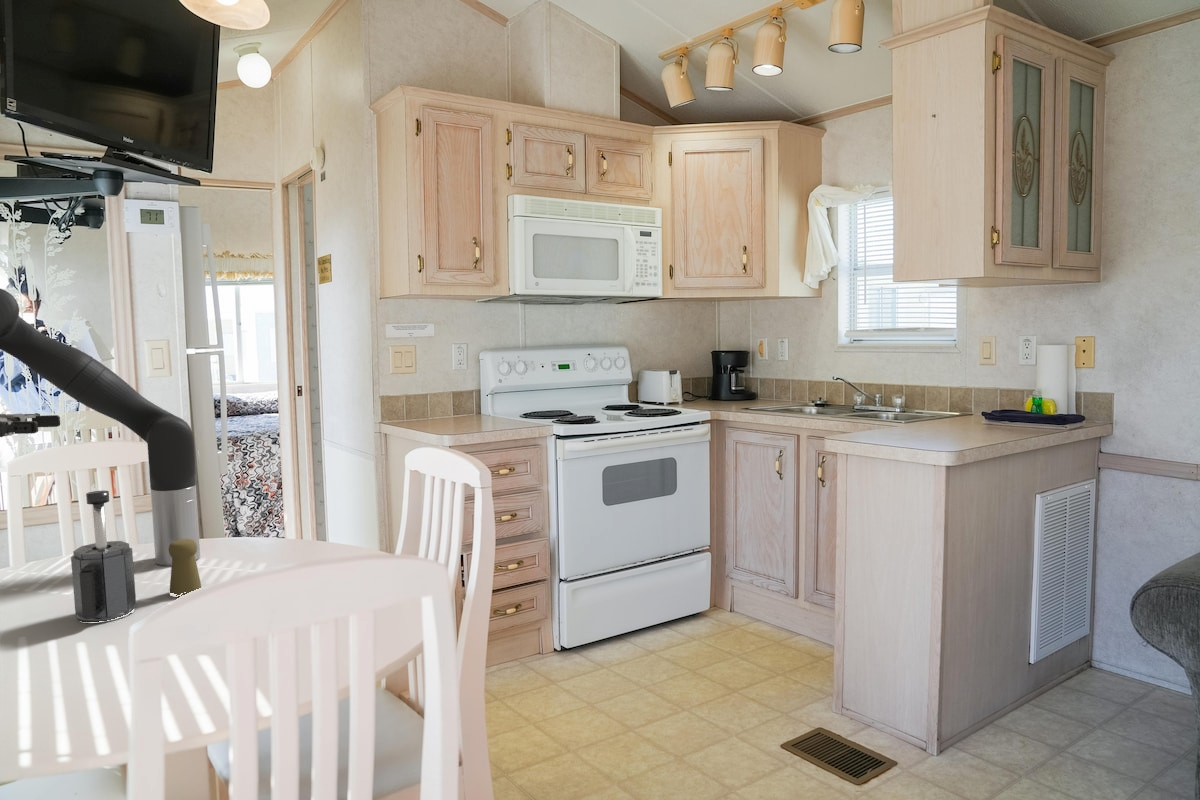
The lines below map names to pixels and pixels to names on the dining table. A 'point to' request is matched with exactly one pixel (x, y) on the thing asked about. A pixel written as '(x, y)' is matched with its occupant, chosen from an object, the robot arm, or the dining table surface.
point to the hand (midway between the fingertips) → (48, 423)
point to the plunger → (99, 516)
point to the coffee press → (103, 581)
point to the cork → (183, 567)
